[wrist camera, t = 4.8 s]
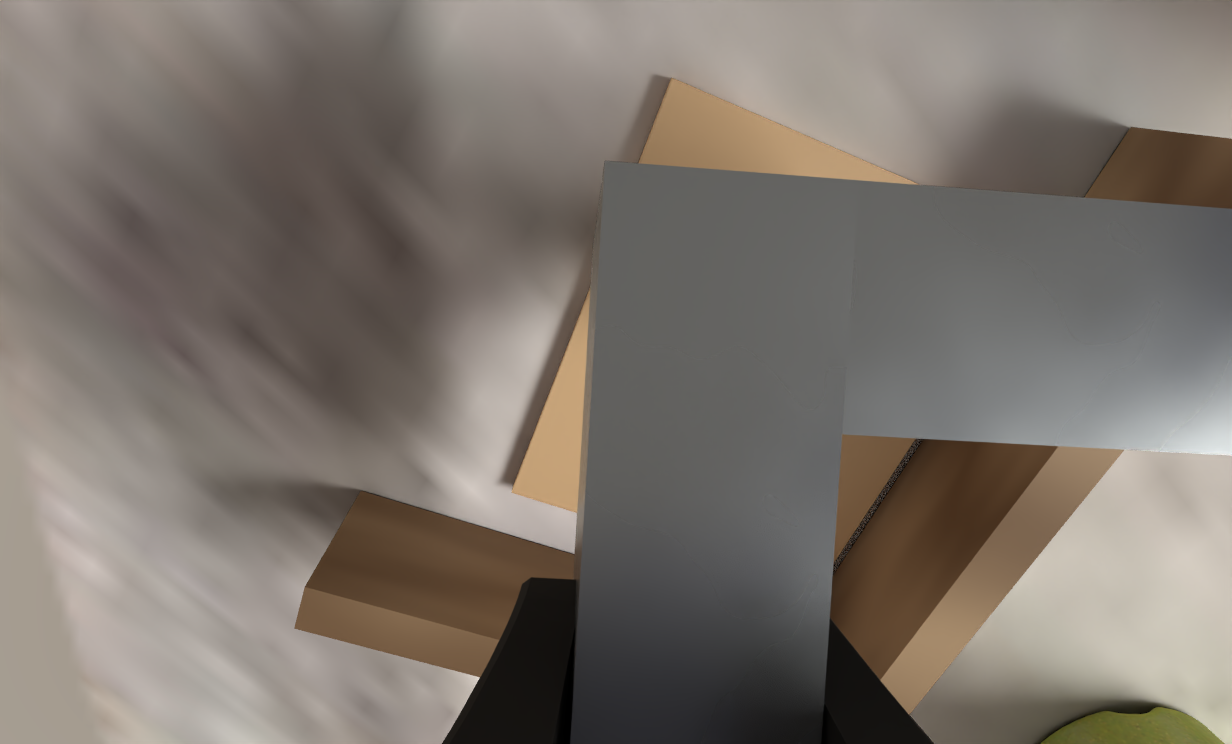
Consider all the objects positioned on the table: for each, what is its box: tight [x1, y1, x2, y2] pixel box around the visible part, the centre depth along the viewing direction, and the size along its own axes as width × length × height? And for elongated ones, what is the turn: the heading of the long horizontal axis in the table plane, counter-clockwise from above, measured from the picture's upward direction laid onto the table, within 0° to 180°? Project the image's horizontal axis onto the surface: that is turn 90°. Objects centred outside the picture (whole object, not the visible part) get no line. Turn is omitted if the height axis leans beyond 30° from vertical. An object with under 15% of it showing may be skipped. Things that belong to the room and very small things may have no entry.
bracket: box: [567, 161, 1232, 744], centre depth 9 cm, size 8×6×5 cm
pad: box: [512, 78, 919, 564], centre depth 15 cm, size 10×8×1 cm
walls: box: [295, 127, 1232, 715], centre depth 14 cm, size 15×14×3 cm
